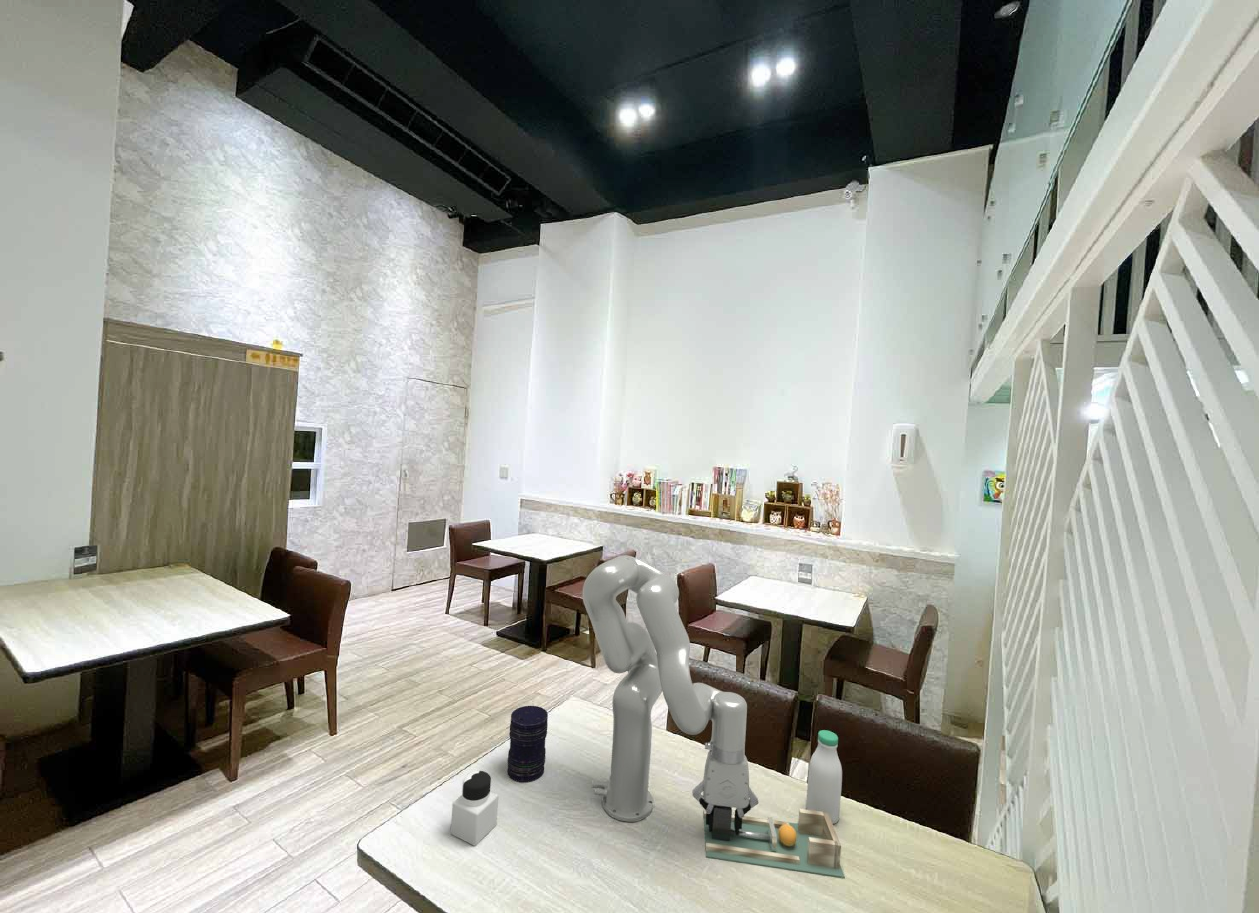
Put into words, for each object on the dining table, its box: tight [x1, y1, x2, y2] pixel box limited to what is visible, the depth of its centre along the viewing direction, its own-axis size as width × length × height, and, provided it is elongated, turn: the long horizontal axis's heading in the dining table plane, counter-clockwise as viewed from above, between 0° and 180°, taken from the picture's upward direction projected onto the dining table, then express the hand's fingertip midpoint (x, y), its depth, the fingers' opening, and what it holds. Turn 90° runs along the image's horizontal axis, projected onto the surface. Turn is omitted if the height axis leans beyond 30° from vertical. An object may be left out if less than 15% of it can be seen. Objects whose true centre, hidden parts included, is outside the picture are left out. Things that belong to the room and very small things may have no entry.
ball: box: [778, 824, 797, 846], centre depth 114 cm, size 4×4×4 cm
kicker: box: [711, 805, 777, 851], centre depth 115 cm, size 14×6×7 cm, turn 84°
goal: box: [797, 808, 842, 869], centre depth 113 cm, size 6×10×5 cm, turn 174°
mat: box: [702, 809, 846, 879], centre depth 115 cm, size 29×14×1 cm, turn 84°
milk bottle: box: [805, 729, 843, 825], centre depth 125 cm, size 8×8×20 cm
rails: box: [703, 810, 800, 864], centre depth 115 cm, size 20×11×1 cm, turn 84°
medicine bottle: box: [450, 770, 499, 847], centre depth 112 cm, size 7×7×12 cm
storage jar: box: [507, 705, 549, 784], centre depth 134 cm, size 10×10×15 cm
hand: (723, 828), depth 115 cm, fingers closed on kicker, 5 cm apart
